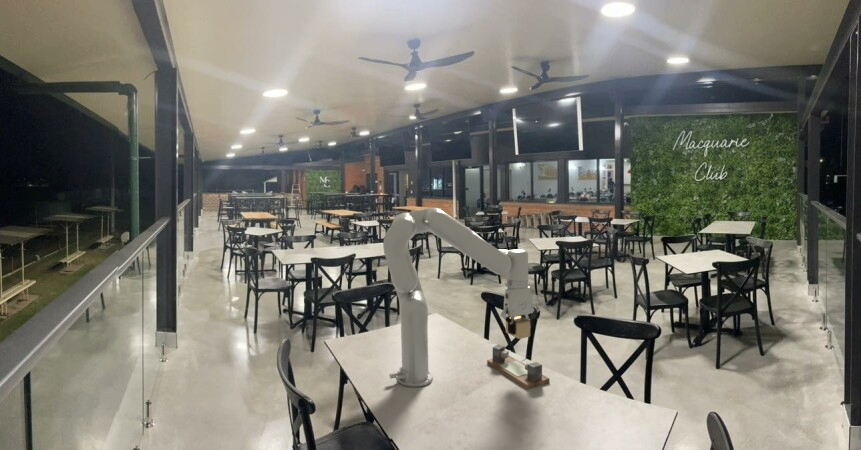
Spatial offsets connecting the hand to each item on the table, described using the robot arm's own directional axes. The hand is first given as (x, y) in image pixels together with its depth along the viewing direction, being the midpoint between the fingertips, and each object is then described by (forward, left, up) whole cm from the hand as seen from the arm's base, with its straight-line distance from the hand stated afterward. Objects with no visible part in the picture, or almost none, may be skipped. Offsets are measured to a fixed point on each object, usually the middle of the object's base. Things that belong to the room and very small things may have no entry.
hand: (517, 331), depth 173 cm
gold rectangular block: (0, 0, -1) cm, 1 cm away
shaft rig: (0, 0, -16) cm, 16 cm away
